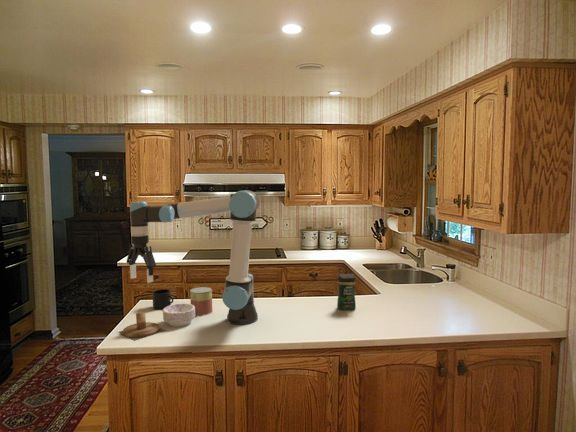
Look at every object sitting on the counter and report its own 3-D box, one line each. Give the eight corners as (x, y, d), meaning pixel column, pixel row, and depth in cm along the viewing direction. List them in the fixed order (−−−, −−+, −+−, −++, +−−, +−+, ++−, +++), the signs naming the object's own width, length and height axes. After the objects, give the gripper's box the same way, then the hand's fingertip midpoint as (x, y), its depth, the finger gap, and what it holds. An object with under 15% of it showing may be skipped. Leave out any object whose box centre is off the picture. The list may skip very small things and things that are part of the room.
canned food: (209, 307, 228) (208, 286, 227) (215, 313, 218) (214, 290, 217) (188, 310, 223) (188, 288, 222) (193, 316, 213) (192, 293, 212)
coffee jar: (339, 311, 219) (339, 276, 217) (336, 306, 227) (335, 272, 225) (357, 310, 219) (357, 275, 218) (353, 305, 227) (353, 272, 226)
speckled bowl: (179, 331, 193) (178, 314, 192) (156, 325, 201) (156, 309, 200) (202, 321, 206) (201, 305, 205) (180, 316, 214) (179, 301, 213)
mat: (166, 331, 193) (166, 330, 193) (134, 341, 181) (134, 340, 181) (147, 323, 203) (147, 323, 203) (116, 333, 191) (116, 332, 191)
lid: (166, 330, 193) (165, 312, 192) (134, 340, 181) (133, 321, 180) (147, 323, 203) (147, 306, 203) (116, 332, 191) (115, 314, 191)
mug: (168, 311, 223) (168, 294, 223) (149, 309, 227) (148, 293, 226) (178, 305, 232) (177, 290, 232) (159, 304, 236) (158, 288, 235)
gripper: (163, 236, 188) (164, 282, 190) (132, 232, 203) (133, 275, 205) (148, 238, 182) (150, 285, 184) (117, 234, 197) (119, 278, 199)
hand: (141, 280), depth 194 cm, fingers open, 13 cm apart
